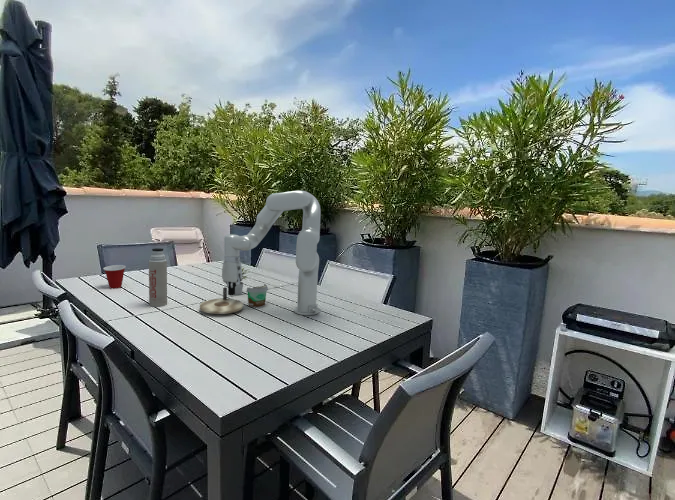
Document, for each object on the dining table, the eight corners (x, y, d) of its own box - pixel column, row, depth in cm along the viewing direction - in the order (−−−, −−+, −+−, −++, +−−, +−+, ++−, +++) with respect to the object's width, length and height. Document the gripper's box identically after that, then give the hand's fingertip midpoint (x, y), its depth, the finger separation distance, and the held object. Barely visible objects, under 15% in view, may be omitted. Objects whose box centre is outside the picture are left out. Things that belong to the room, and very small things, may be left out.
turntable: (245, 304, 187) (245, 287, 186) (240, 316, 168) (240, 298, 167) (205, 303, 185) (205, 286, 183) (195, 316, 165) (195, 297, 164)
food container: (254, 309, 180) (254, 289, 179) (246, 306, 184) (246, 287, 183) (272, 304, 190) (273, 286, 189) (264, 302, 194) (265, 283, 192)
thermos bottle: (156, 307, 174) (155, 250, 170) (145, 304, 178) (144, 248, 174) (170, 304, 181) (170, 248, 177) (160, 301, 185) (159, 247, 181)
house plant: (246, 298, 198) (246, 269, 196) (220, 296, 199) (221, 267, 196) (252, 291, 213) (253, 264, 210) (229, 290, 213) (229, 263, 210)
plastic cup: (99, 288, 202) (98, 267, 200) (115, 284, 212) (115, 264, 210) (114, 290, 198) (113, 269, 197) (130, 286, 209) (130, 266, 207)
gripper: (248, 260, 181) (247, 295, 184) (226, 256, 188) (226, 290, 191) (237, 262, 175) (237, 298, 177) (215, 258, 182) (215, 293, 184)
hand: (231, 294), depth 184 cm, fingers closed
